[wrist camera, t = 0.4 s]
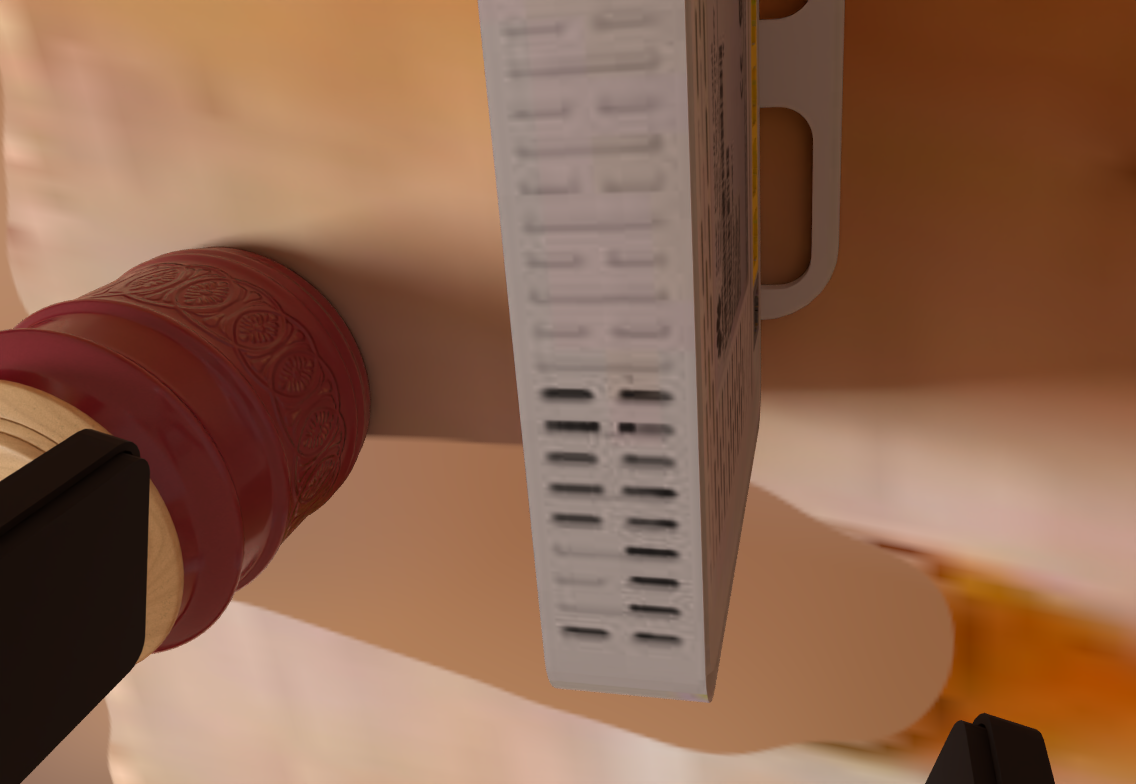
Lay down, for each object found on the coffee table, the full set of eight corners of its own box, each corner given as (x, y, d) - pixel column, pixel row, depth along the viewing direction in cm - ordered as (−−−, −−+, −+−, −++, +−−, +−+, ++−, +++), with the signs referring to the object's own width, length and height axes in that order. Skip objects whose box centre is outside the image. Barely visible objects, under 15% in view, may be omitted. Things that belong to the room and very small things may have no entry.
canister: (99, 434, 50) (-237, 656, 35) (141, 191, 45) (-239, 325, 29) (338, 547, 50) (105, 826, 34) (413, 314, 44) (174, 520, 28)
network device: (572, -341, 33) (263, -672, 15) (853, -386, 31) (872, -829, 13) (617, 392, 43) (460, 708, 25) (835, 396, 41) (831, 745, 23)
